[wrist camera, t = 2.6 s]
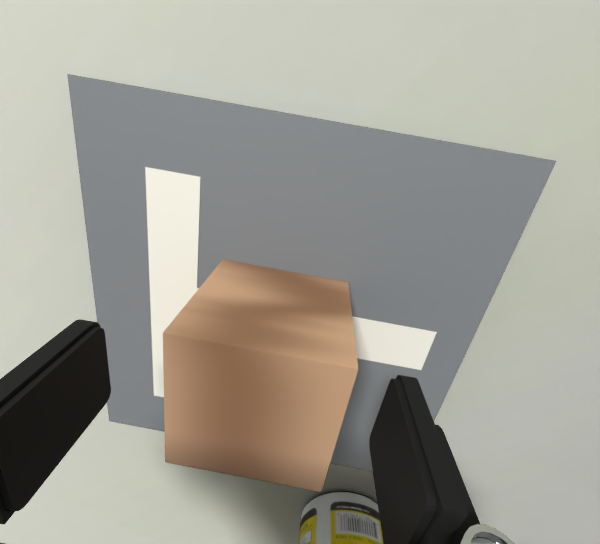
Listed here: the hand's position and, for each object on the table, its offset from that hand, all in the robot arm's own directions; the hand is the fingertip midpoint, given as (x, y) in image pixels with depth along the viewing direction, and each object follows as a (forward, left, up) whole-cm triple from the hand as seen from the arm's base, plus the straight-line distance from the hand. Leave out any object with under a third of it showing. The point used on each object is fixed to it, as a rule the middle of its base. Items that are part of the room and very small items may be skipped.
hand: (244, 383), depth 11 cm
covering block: (-1, 0, -4) cm, 4 cm away
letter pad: (-1, 0, -5) cm, 5 cm away
